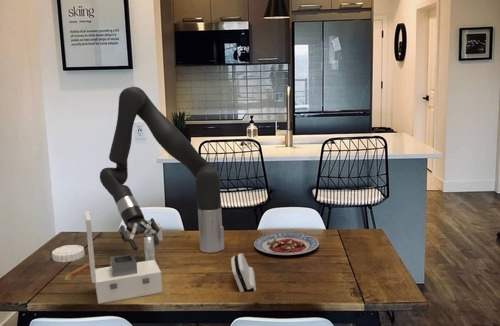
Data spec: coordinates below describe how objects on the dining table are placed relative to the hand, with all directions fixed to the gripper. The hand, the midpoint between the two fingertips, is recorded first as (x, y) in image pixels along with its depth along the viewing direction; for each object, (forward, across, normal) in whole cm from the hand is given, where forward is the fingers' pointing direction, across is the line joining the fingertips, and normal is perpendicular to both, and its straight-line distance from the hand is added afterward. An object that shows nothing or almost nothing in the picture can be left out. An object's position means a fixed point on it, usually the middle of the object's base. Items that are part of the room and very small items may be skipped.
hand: (147, 246), depth 184 cm
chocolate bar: (-3, -21, +15) cm, 26 cm away
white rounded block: (+30, +16, -19) cm, 39 cm away
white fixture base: (+15, -15, -4) cm, 22 cm away
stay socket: (+10, -16, -9) cm, 21 cm away
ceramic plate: (+21, +50, -10) cm, 55 cm away
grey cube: (-13, +18, +25) cm, 34 cm away
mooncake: (-17, -17, +29) cm, 38 cm away
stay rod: (+6, 0, +4) cm, 8 cm away
